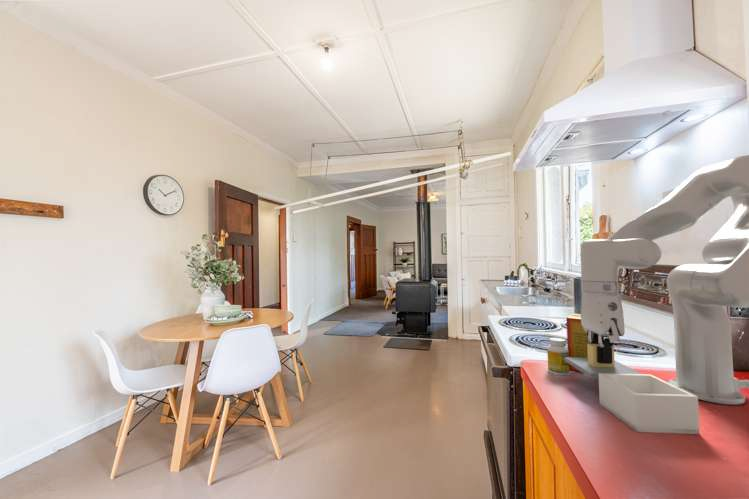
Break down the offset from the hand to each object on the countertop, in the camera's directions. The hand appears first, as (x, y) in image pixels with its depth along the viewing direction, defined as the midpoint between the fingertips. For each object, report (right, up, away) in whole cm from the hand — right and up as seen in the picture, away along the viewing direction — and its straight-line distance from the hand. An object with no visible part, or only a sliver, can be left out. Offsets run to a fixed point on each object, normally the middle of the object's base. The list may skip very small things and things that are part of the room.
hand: (600, 360), depth 76 cm
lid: (0, -2, 0) cm, 2 cm away
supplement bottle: (-3, -8, +12) cm, 15 cm away
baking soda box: (+6, -8, +14) cm, 17 cm away
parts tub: (-1, -7, -13) cm, 15 cm away
